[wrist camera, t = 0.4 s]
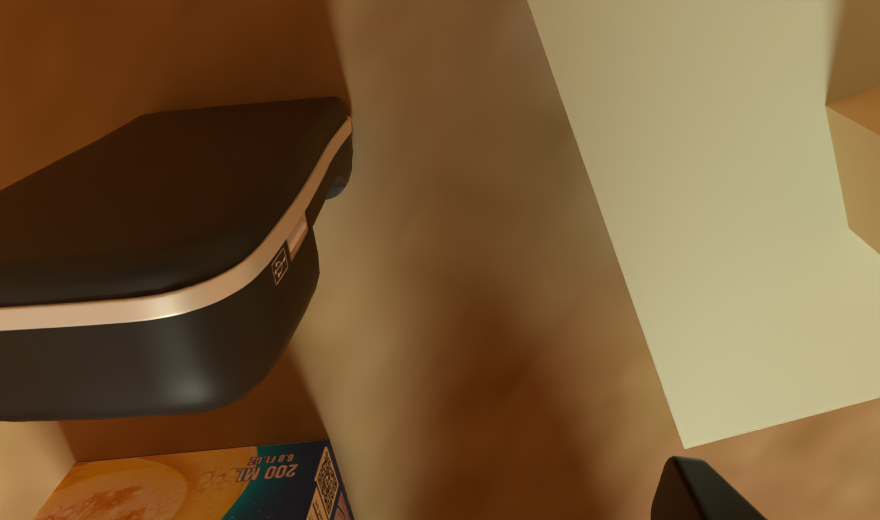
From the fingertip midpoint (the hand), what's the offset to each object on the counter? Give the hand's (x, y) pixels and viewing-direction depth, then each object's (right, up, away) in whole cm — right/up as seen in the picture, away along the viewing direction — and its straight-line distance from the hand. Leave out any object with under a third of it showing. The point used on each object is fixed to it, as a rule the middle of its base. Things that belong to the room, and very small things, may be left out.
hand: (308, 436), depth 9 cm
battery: (-4, +5, +14) cm, 15 cm away
